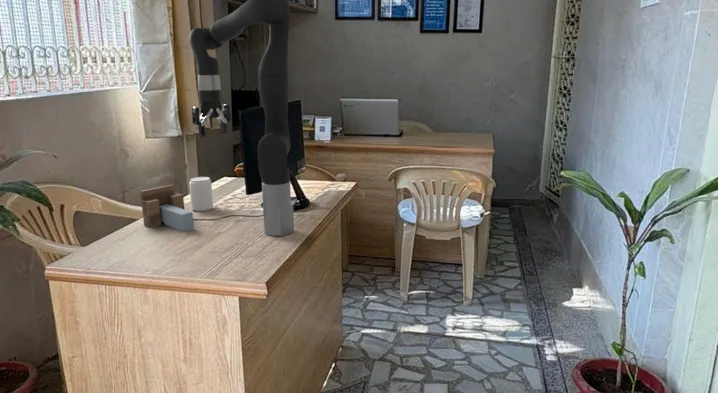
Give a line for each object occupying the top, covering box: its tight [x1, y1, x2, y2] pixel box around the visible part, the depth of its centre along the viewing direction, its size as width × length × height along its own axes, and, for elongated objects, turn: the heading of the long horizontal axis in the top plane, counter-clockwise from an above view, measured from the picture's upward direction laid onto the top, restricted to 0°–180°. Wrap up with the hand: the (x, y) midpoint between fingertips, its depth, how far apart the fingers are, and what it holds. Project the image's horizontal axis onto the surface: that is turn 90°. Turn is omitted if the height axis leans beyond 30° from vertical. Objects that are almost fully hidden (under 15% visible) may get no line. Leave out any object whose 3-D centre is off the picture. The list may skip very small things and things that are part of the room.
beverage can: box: [188, 176, 214, 212], centre depth 204 cm, size 8×8×12 cm
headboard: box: [139, 184, 185, 228], centre depth 189 cm, size 6×14×12 cm, turn 140°
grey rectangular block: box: [159, 204, 195, 232], centre depth 185 cm, size 16×4×6 cm, turn 50°
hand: (213, 135), depth 187 cm, fingers open, 8 cm apart
